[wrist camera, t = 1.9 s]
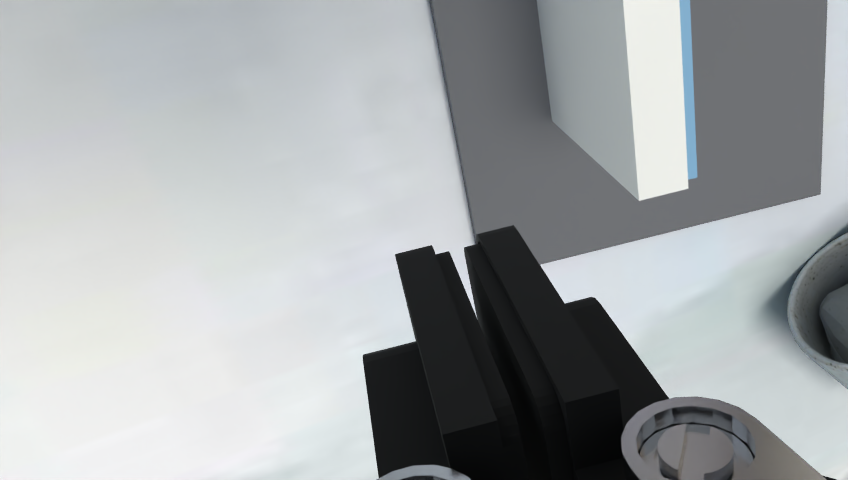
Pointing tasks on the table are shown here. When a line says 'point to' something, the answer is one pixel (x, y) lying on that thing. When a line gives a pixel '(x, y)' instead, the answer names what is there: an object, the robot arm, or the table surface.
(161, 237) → the table surface
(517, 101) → the mat
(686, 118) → the tile
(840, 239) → the ceramic mug
